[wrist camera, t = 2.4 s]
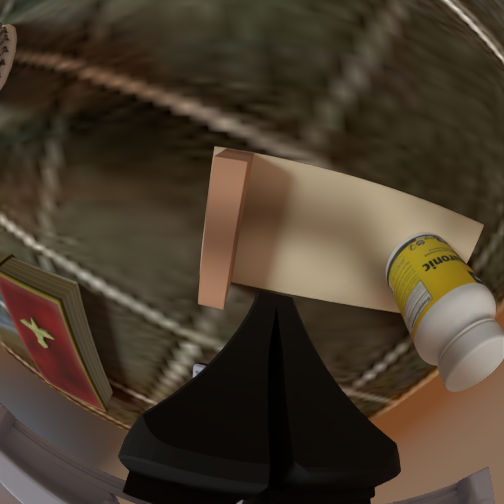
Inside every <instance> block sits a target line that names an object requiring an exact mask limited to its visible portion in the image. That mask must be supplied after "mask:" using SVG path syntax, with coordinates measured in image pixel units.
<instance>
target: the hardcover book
mask: <svg viewBox="0 0 504 504" xmlns="http://www.w3.org/2000/svg"><path fill="white" fill-rule="evenodd" d="M0 292H1V294H2V297H3V299H4V302H5V304H6V307H7V309H8V311H9V314H10V316H11V318H12V320H13V322H14V325H15V327H16V329H17V331H18V333H19V335H20V337H21V339H22V341H23V343H24V345H25V346H26V348H27V350H28V352H29V354H30V356H31V357H32V359H33V361H34V363H35V364H36V366H37V368H38V369H39V371H40V373H41V374H42V376H43V377H44V379H45V380H46V382H47V383H49V384H51V385H52V386H54V387H56V388H58V389H59V390H61V391H63V392H65V393H67V394H69V395H71V396H72V397H74V398H76V399H78V400H80V401H82V402H84V403H86V404H88V405H91V406H93V407H95V408H97V409H99V410H101V411H104V412H106V413H107V412H108V410H107V408H106V406H107V404H108V402H109V399H110V397H111V395H112V393H113V391H112V389H111V387H110V384H109V382H108V379H107V377H106V374H105V371H104V369H103V366H102V363H101V361H100V358H99V355H98V352H97V349H96V346H95V343H94V340H93V337H92V334H91V331H90V327H89V324H88V320H87V317H86V313H85V310H84V306H83V302H82V298H81V294H80V289H79V285H78V282H76V281H73V280H70V279H67V278H65V277H62V276H59V275H56V274H54V273H51V272H49V271H46V270H43V269H41V268H38V267H36V266H33V265H31V264H29V263H26V262H24V261H21V260H19V259H17V258H14V257H13V255H12V254H11V253H10V254H9V255H7V256H6V257H4V258H3V259H2V260H1V261H0Z"/></svg>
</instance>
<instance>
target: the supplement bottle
mask: <svg viewBox="0 0 504 504" xmlns="http://www.w3.org/2000/svg"><path fill="white" fill-rule="evenodd" d="M386 281H387V284H388V287H389V289H390V291H391V294H392V295H393V298H394V299H395V302H396V304H397V306H398V308H399V310H400V312H401V315H402V317H403V319H404V321H405V324H406V326H407V328H408V330H409V333H410V335H411V338H412V340H413V342H414V345H415V347H416V349H417V352H418V354H419V355H420V357H421V358H422V359H423V360H424V361H425V362H427V363H429V364H431V365H437V367H438V370H439V373H440V375H441V378H442V380H443V383H444V385H445V387H446V389H447V390H448V391H451V392H458V391H463V390H465V389H468V388H470V387H472V386H474V385H476V384H478V383H479V382H481V381H482V380H484V379H485V378H486V377H488V376H489V375H490V374H491V373H492V372H493V371H494V370H495V369H496V368H497V367H498V366H499V364H500V363H501V362H502V360H503V359H504V331H503V330H502V328H501V326H500V325H499V324H498V323H497V321H495V320H494V319H495V315H496V304H495V300H494V297H493V295H492V294H491V292H490V291H489V290H488V288H487V287H486V285H485V284H484V283H483V282H482V281H481V280H480V279H479V277H478V276H477V275H476V274H475V273H474V272H473V271H472V269H471V268H470V267H469V266H468V265H467V264H466V263H465V262H464V261H463V259H462V258H461V257H460V256H459V255H458V254H457V253H456V252H455V251H454V250H453V249H452V248H451V247H450V246H449V245H448V244H447V243H446V242H445V241H444V240H443V239H442V238H441V237H439V236H438V235H435V234H433V233H428V232H421V233H417V234H413V235H411V236H409V237H407V238H406V239H404V240H403V241H402V242H400V243H399V244H398V245H397V247H396V248H395V249H394V251H393V252H392V254H391V255H390V257H389V260H388V263H387V266H386Z"/></svg>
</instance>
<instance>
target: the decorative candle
mask: <svg viewBox="0 0 504 504" xmlns="http://www.w3.org/2000/svg"><path fill="white" fill-rule="evenodd" d="M16 45H17V33H16V28H15V27H14V26H12V25H11V24H7V25H4V26H2V23H0V91H1V89H2V87H3V86H4V84H5V82H6V80H7V77H8V75H9V72H10V70H11V68H12V64H13V60H14V56H15V53H16Z"/></svg>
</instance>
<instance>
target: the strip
mask: <svg viewBox="0 0 504 504" xmlns="http://www.w3.org/2000/svg"><path fill="white" fill-rule="evenodd" d="M483 226H484V225H483V224H481V223H479V222H476V221H474V220H472V219H470V218H468V217H465V216H463V215H461V214H458V213H456V212H454V211H451V210H449V209H446V208H444V207H441V206H439V205H436V204H434V203H431V202H429V201H426V200H423V199H421V198H418V197H415V196H413V195H410V194H407V193H404V192H401V191H398V190H395V189H392V188H389V187H386V186H383V185H380V184H377V183H374V182H371V181H367V180H364V179H361V178H357V177H354V176H351V175H347V174H344V173H340V172H336V171H333V170H329V169H325V168H321V167H317V166H313V165H309V164H305V163H301V162H296V161H292V160H287V159H283V158H278V157H273V156H269V155H264V154H258V153H253V152H248V151H242V150H236V149H230V148H224V147H218V146H215V148H214V154H213V161H212V168H211V176H210V183H209V191H208V199H207V207H206V216H205V225H204V234H203V244H202V254H201V265H200V285H199V298H198V304H201V305H205V306H210V307H214V308H219V309H223V308H224V305H225V301H226V298H227V294H228V291H229V288H230V284H231V282H233V283H238V284H243V285H248V286H253V287H257V288H262V289H267V290H272V291H277V292H283V293H288V294H293V295H298V296H303V297H309V298H314V299H320V300H325V301H331V302H336V303H342V304H348V305H354V306H360V307H366V308H372V309H378V310H384V311H391V312H397V313H401V312H400V310H399V308H398V306H397V304H396V302H395V299H394V298H393V295H392V294H391V291H390V289H389V287H388V284H387V281H386V266H387V263H388V260H389V257H390V255H391V254H392V252H393V251H394V249H395V248H396V247H397V245H398V244H399V243H400V242H402V241H403V240H404V239H406V238H407V237H409V236H411V235H413V234H417V233H421V232H428V233H433V234H435V235H438V236H439V237H441V238H442V239H443V240H444V241H445V242H446V243H447V244H448V245H449V246H450V247H451V248H452V249H453V250H454V251H455V252H456V253H457V254H458V255H459V256H460V257H461V258H462V259H463V261H464V262H465V263H466V264H467V262H468V260H469V258H470V256H471V254H472V252H473V250H474V247H475V245H476V243H477V241H478V238H479V236H480V234H481V231H482V229H483Z"/></svg>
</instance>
